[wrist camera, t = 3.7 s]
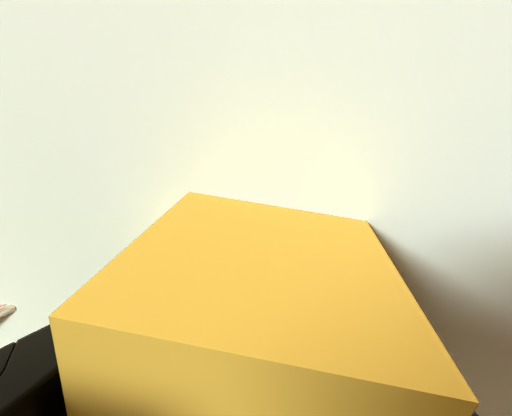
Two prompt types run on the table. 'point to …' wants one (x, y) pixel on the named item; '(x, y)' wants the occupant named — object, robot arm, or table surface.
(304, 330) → the mustard cube
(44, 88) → the table surface
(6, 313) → the sunglasses
